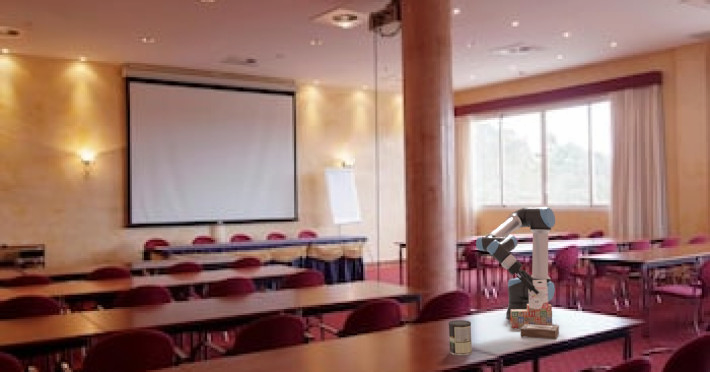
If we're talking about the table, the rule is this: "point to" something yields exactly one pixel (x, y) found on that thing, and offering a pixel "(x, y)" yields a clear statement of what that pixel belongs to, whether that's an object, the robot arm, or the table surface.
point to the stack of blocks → (531, 316)
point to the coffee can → (460, 337)
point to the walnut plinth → (540, 331)
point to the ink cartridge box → (534, 299)
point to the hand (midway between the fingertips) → (544, 296)
